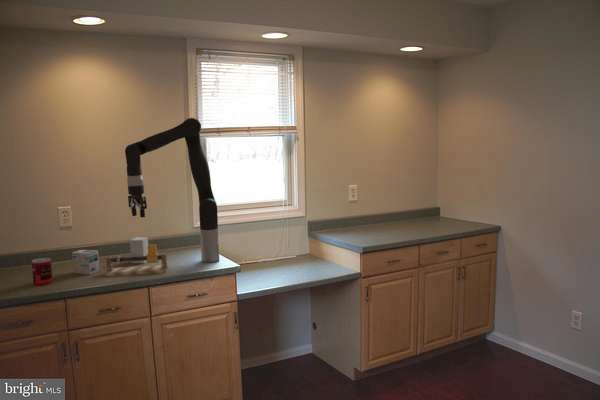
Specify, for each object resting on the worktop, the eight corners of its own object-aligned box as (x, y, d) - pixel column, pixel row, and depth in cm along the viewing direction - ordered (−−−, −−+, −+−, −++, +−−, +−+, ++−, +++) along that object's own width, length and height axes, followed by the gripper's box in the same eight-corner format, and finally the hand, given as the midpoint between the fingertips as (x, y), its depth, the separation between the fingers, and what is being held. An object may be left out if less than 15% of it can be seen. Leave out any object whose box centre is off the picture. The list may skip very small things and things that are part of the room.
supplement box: (149, 260, 264) (148, 237, 263) (144, 263, 257) (142, 240, 255) (136, 260, 265) (135, 237, 264) (130, 263, 258) (129, 240, 256)
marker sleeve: (158, 260, 245) (157, 243, 244) (157, 262, 241) (156, 245, 240) (148, 261, 244) (147, 244, 243) (147, 263, 240) (145, 246, 239)
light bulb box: (100, 271, 243) (98, 250, 242) (90, 275, 237) (88, 253, 236) (82, 270, 247) (81, 249, 246) (72, 273, 241) (71, 252, 239)
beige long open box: (168, 267, 249) (167, 251, 248) (165, 272, 239) (164, 255, 238) (110, 270, 245) (109, 254, 244) (105, 276, 235) (104, 259, 234)
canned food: (37, 281, 228) (35, 258, 227) (55, 280, 229) (53, 257, 228) (30, 286, 221) (28, 262, 219) (48, 285, 222) (46, 261, 220)
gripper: (149, 184, 242) (152, 216, 244) (135, 183, 252) (138, 214, 254) (135, 185, 237) (138, 218, 239) (121, 184, 247) (124, 216, 249)
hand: (138, 216), depth 246 cm, fingers open, 8 cm apart
